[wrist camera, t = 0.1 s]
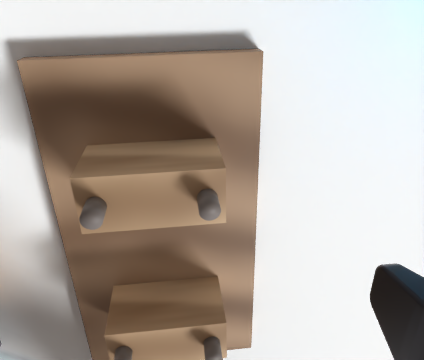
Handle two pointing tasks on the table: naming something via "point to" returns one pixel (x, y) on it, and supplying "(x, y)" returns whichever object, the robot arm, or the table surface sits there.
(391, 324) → the robot arm
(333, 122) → the table surface
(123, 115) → the tool rack
